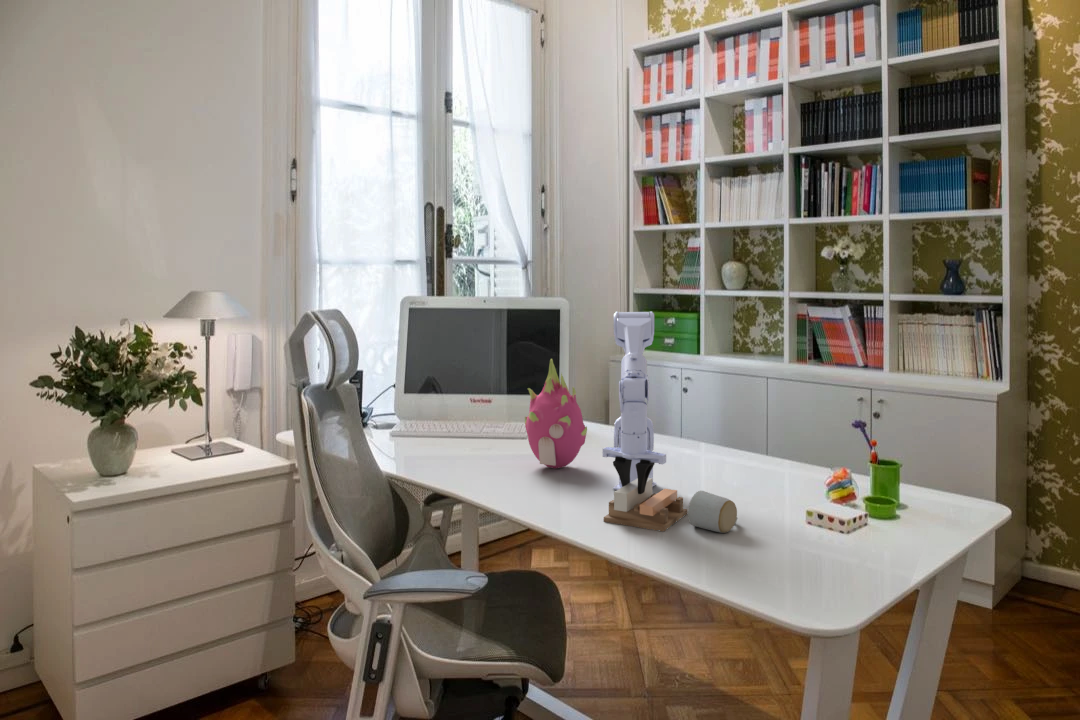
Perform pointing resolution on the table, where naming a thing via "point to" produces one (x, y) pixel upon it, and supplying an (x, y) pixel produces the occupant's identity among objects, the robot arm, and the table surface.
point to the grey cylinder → (712, 512)
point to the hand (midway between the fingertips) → (633, 491)
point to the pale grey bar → (631, 495)
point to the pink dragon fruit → (555, 423)
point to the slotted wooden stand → (655, 522)
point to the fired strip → (658, 502)
